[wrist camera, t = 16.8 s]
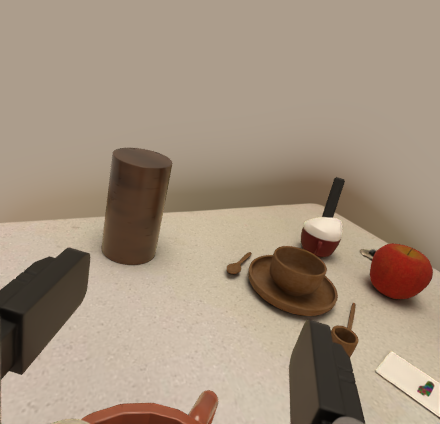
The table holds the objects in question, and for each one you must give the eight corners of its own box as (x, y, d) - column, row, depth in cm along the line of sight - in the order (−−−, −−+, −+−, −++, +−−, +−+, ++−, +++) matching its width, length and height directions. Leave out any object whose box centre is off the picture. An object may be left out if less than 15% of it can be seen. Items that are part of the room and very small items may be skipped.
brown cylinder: (134, 271, 44) (151, 172, 39) (89, 249, 46) (99, 152, 41) (165, 250, 50) (182, 161, 45) (124, 231, 53) (136, 144, 47)
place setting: (360, 298, 51) (376, 263, 49) (341, 401, 34) (365, 354, 31) (247, 248, 56) (257, 215, 54) (181, 316, 39) (192, 270, 37)
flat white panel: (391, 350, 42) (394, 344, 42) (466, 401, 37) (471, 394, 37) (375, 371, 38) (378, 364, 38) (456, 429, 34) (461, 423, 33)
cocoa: (319, 268, 56) (348, 198, 51) (286, 249, 59) (310, 181, 55) (343, 253, 63) (370, 190, 59) (312, 236, 67) (335, 175, 62)
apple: (376, 272, 59) (396, 230, 56) (423, 300, 55) (448, 256, 52) (353, 283, 54) (373, 238, 51) (403, 316, 49) (430, 268, 46)
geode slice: (407, 277, 60) (412, 268, 60) (359, 259, 62) (363, 250, 62) (404, 260, 66) (408, 252, 66) (360, 244, 68) (363, 236, 68)
